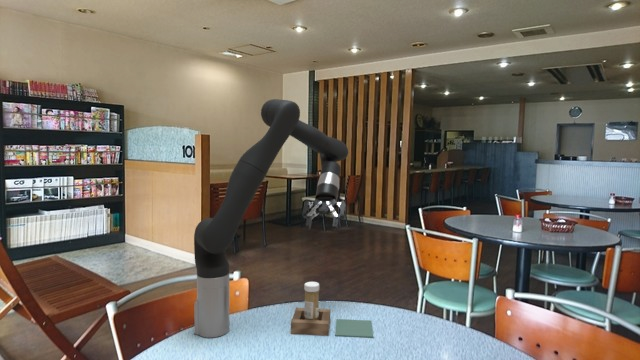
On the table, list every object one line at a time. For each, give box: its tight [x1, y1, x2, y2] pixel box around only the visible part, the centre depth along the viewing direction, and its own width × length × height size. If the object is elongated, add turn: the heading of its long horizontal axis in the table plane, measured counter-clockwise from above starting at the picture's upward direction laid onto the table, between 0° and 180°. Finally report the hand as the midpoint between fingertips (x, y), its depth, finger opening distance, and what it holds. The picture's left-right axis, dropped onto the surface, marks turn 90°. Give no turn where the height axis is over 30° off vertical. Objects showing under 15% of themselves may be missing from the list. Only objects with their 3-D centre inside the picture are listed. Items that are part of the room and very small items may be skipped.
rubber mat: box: [334, 318, 374, 339], centre depth 119 cm, size 11×11×1 cm
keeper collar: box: [290, 307, 331, 337], centre depth 119 cm, size 11×11×4 cm
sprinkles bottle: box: [303, 281, 320, 320], centre depth 119 cm, size 5×5×13 cm
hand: (321, 228), depth 128 cm, fingers open, 8 cm apart
